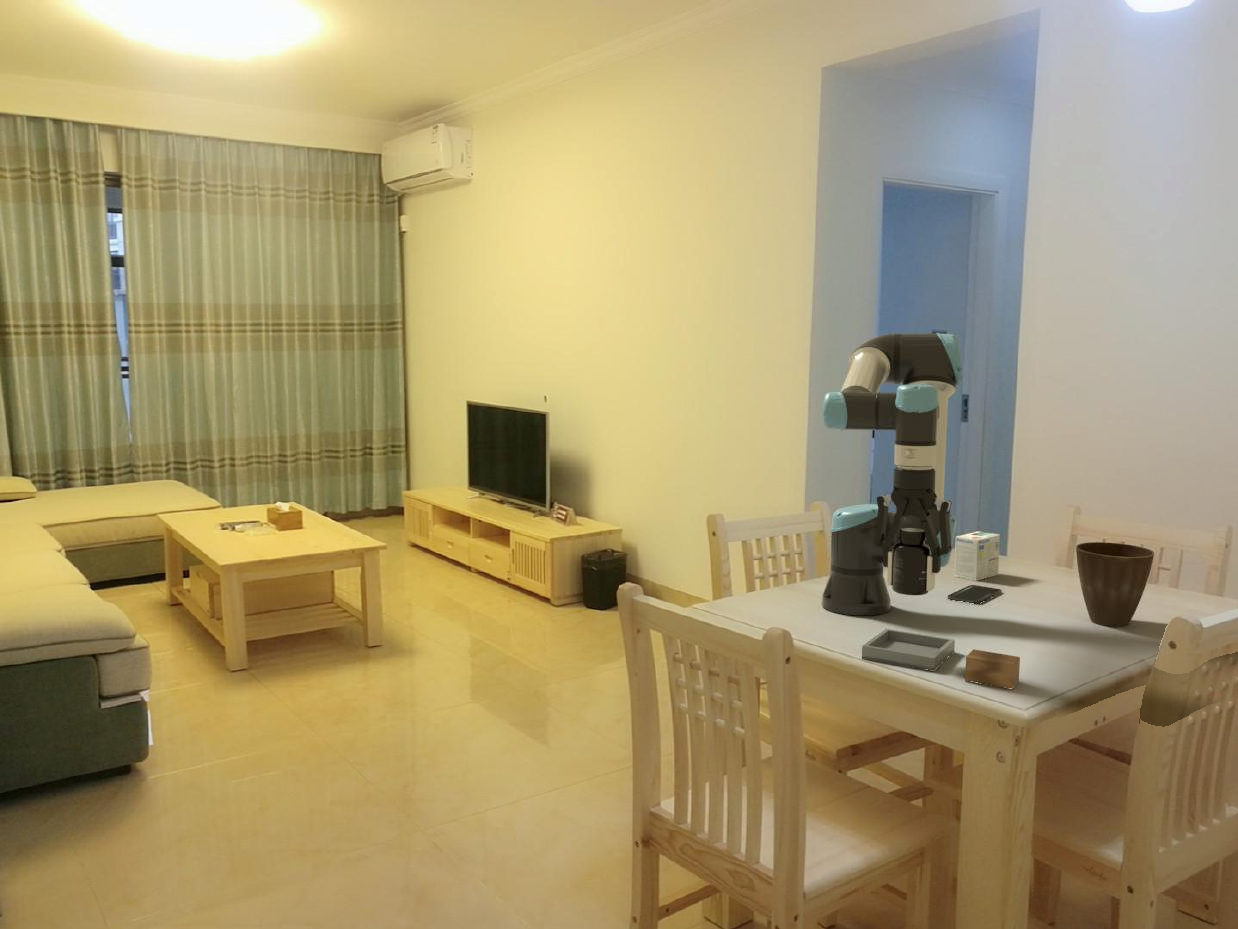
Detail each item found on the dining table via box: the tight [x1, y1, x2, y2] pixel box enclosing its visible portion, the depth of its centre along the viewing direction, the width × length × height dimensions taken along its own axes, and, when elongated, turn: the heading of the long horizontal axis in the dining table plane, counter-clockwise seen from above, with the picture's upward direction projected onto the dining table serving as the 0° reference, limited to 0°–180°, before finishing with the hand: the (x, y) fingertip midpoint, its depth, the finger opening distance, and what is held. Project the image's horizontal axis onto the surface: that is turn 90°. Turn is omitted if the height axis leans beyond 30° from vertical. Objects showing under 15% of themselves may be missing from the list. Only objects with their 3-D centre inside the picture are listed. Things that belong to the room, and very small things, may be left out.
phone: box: [947, 584, 1002, 605], centre depth 235 cm, size 8×1×15 cm
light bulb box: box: [953, 530, 1001, 582], centre depth 254 cm, size 11×7×11 cm, turn 130°
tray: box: [861, 628, 956, 672], centre depth 190 cm, size 14×14×2 cm
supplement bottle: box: [891, 528, 931, 596], centre depth 188 cm, size 7×7×12 cm
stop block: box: [964, 649, 1021, 689], centre depth 175 cm, size 8×5×4 cm, turn 56°
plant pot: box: [1075, 541, 1155, 628], centre depth 211 cm, size 15×15×16 cm
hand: (910, 586), depth 189 cm, fingers closed on supplement bottle, 7 cm apart
